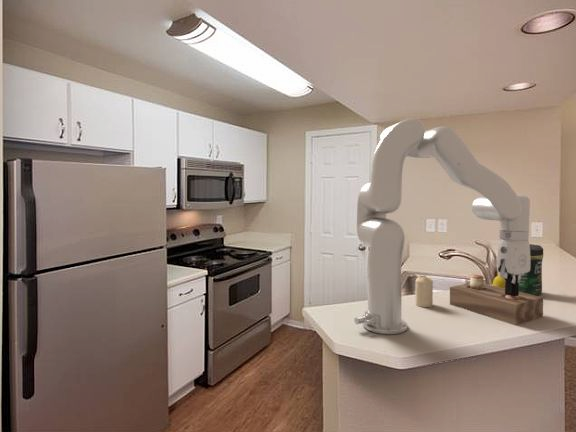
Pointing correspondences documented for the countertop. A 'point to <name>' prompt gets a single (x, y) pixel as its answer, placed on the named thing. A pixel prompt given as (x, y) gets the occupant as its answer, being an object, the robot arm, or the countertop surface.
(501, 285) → the lemon
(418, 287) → the candle
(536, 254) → the coffee jar
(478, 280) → the peg far
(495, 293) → the block
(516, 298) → the peg near
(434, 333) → the countertop surface
